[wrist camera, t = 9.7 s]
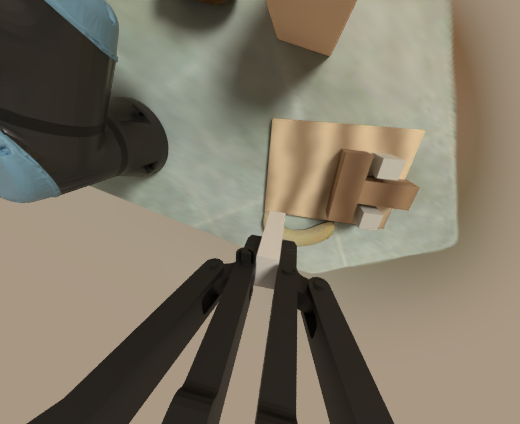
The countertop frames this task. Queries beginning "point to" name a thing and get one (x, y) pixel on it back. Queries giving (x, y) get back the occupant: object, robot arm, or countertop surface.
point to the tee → (364, 188)
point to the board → (325, 161)
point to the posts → (382, 169)
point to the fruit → (306, 233)
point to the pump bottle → (310, 22)
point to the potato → (212, 1)
